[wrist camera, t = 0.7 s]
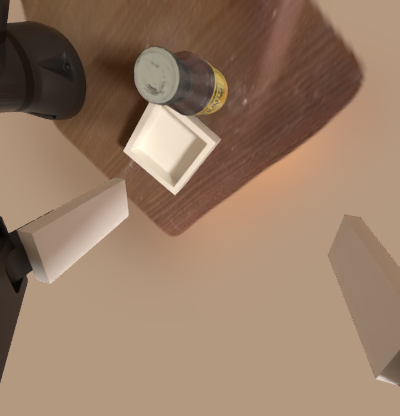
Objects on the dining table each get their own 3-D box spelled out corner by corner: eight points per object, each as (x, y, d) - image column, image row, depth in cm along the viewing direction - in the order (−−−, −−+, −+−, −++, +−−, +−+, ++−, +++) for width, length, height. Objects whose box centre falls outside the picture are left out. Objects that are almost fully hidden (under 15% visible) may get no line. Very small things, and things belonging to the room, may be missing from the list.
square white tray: (135, 147, 43) (123, 151, 39) (166, 91, 37) (156, 90, 33) (182, 187, 43) (174, 195, 40) (221, 139, 37) (216, 143, 34)
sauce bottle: (204, 121, 37) (146, 138, 20) (184, 86, 36) (102, 73, 18) (238, 96, 34) (205, 91, 17) (217, 57, 33) (156, 9, 15)
